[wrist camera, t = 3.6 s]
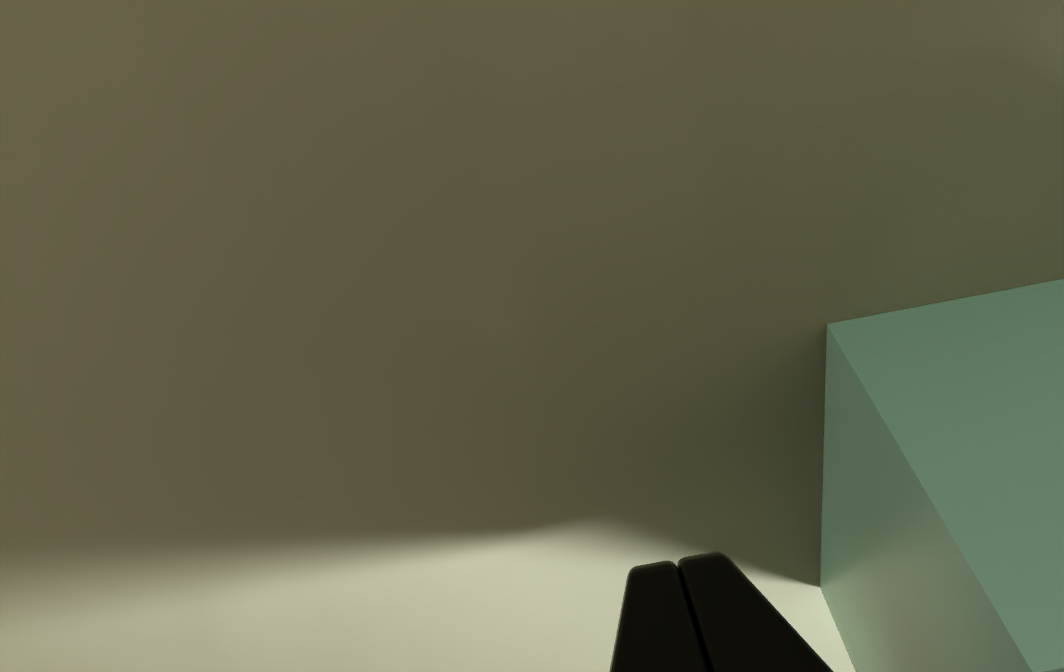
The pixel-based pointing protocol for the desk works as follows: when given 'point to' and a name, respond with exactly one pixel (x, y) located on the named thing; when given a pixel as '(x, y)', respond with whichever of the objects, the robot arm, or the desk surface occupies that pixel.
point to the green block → (947, 484)
